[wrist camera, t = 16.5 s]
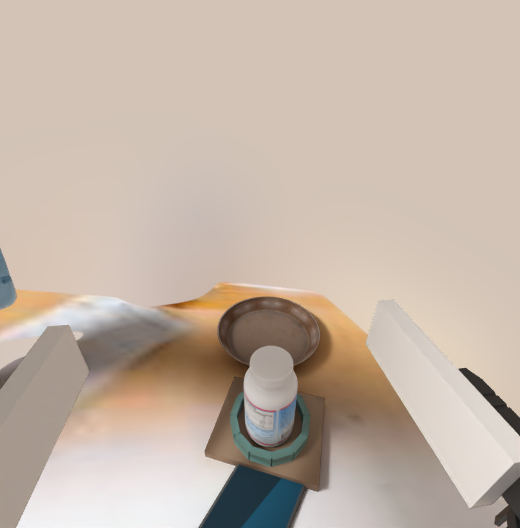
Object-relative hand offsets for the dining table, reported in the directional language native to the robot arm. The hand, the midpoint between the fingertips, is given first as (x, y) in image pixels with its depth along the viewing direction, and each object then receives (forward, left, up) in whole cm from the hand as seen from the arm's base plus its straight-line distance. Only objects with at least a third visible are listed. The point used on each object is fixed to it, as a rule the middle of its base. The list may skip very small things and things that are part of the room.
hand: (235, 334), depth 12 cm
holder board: (0, +11, -27) cm, 29 cm away
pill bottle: (0, +11, -26) cm, 28 cm away
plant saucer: (-4, +27, -27) cm, 38 cm away
